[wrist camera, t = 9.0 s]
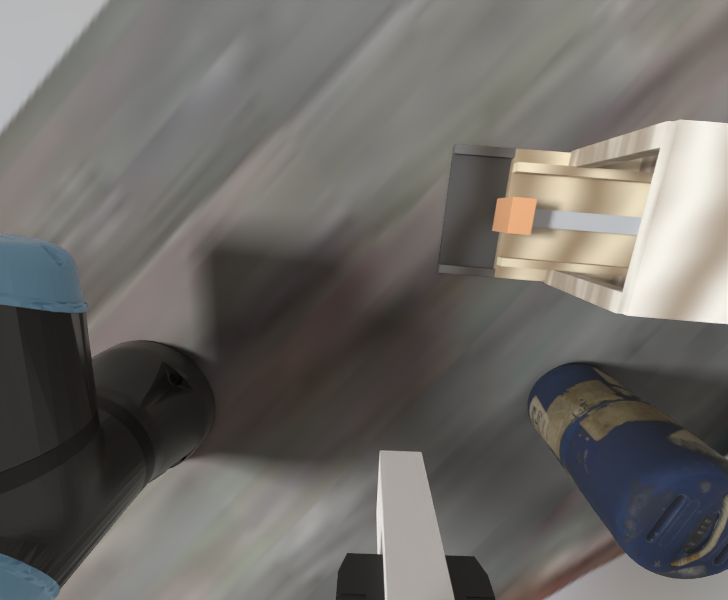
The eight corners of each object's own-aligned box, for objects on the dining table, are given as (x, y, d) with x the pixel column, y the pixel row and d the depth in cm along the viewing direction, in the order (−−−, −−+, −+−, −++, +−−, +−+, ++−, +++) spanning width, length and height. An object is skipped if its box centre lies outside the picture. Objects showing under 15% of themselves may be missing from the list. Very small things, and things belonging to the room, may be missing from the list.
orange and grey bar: (488, 251, 35) (502, 256, 31) (501, 176, 33) (517, 171, 29) (703, 269, 34) (744, 276, 31) (726, 194, 33) (773, 192, 29)
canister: (629, 390, 39) (834, 535, 21) (568, 450, 41) (711, 627, 23) (563, 342, 38) (723, 453, 20) (504, 406, 40) (604, 557, 22)
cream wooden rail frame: (437, 272, 36) (469, 304, 24) (454, 144, 33) (501, 103, 21) (692, 293, 36) (862, 337, 23) (732, 166, 33) (950, 137, 21)
